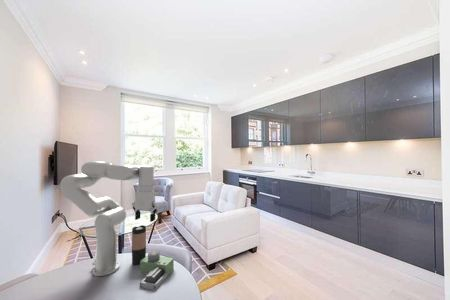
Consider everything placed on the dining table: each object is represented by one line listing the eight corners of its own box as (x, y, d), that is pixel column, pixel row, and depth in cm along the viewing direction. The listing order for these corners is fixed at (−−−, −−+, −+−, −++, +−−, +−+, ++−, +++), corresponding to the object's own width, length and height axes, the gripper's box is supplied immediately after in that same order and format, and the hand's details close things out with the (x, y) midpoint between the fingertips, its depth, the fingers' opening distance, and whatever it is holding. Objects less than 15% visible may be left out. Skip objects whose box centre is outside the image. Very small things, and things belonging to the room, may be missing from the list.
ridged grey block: (145, 285, 90) (145, 275, 90) (154, 276, 97) (154, 266, 97) (154, 287, 89) (154, 276, 89) (162, 277, 96) (162, 267, 96)
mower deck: (126, 283, 91) (126, 265, 91) (148, 265, 107) (148, 249, 107) (155, 289, 87) (155, 269, 87) (173, 269, 102) (173, 252, 103)
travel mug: (140, 266, 106) (140, 230, 107) (128, 265, 107) (129, 229, 108) (148, 259, 113) (148, 225, 114) (137, 258, 115) (137, 224, 116)
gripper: (127, 188, 101) (126, 220, 101) (154, 190, 96) (154, 224, 96) (137, 186, 108) (137, 216, 108) (163, 188, 103) (162, 219, 103)
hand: (145, 219), depth 102 cm, fingers open, 9 cm apart
